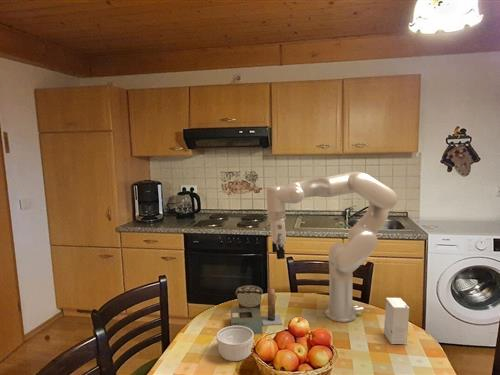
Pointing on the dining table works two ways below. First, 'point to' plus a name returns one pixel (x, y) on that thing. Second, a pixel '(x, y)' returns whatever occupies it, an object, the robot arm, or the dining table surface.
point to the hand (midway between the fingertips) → (278, 255)
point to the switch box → (247, 319)
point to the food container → (249, 297)
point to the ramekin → (235, 342)
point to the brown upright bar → (271, 304)
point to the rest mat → (267, 322)
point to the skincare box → (396, 320)
